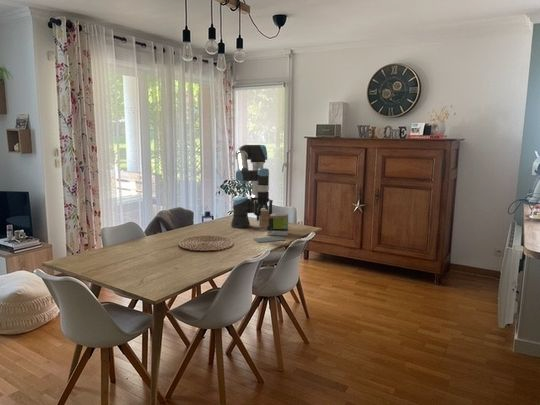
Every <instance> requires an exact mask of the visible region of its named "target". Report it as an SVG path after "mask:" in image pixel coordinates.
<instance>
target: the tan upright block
mask: <svg viewBox="0 0 540 405" xmlns="http://www.w3.org/2000/svg"><path fill="white" fill-rule="evenodd" d="M257 210H258V209H257ZM259 216H260V227H262V228H264V227H265V228H267V226H269V209H268V210H267V209H265V208H261V210H260V214H259ZM256 221H257V220H256ZM256 223H257V225H258V221H257V222H256Z"/></svg>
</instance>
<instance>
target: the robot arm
mask: <svg viewBox="0 0 540 405" xmlns="http://www.w3.org/2000/svg"><path fill="white" fill-rule="evenodd" d="M234 156H235V159H236V163H237V170H235V182H236V181H237V182H252V183H251V184H252V187H251V188H252V190H251V191H252V192H251V193H252V194H251V195H250V198H249V197H248V196H239V197H235V198H234V199H233V200H232V205H233V206H232V211H233V212H232V213H233V214H232V220H231V222H230V227H231V228H234V229H246V228H249V227H250V226H251V223H250V220H249V216H248V215H249V214H253V215H254V216H256V221H258V224H257V226H260V216H259V214H260V210H261V208H265V209H267V210H269V216H270V214H273V199H270V198H269V195H270V194H269V193H270V192H269V190H270V186H269V185H270V184H269V183H270V182H269V181H270V171H269V168H267V167H266V168H264V165H265V163H266V161H267V160H268V151H267V147H266V145H264V144H244V145H241V146H239V147H238V149H237V150H236V151H235V155H234ZM248 161H250V163H251V166H252V169H251V170H249V164H248ZM257 209H258V210H257ZM260 227H261V226H260Z"/></svg>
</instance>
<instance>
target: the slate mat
mask: <svg viewBox="0 0 540 405" xmlns="http://www.w3.org/2000/svg"><path fill="white" fill-rule="evenodd" d="M253 241H255V242H256V243H258V244H262V243H271V242H284V241H286V239H285V238H283V237H282V236H281V235H276V236H267V237H256V238H253Z"/></svg>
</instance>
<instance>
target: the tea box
mask: <svg viewBox="0 0 540 405" xmlns="http://www.w3.org/2000/svg"><path fill="white" fill-rule="evenodd" d="M266 232H267V233H266V234H267V236H288V234H289V213H272V214H270V216H269V226H266Z"/></svg>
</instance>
